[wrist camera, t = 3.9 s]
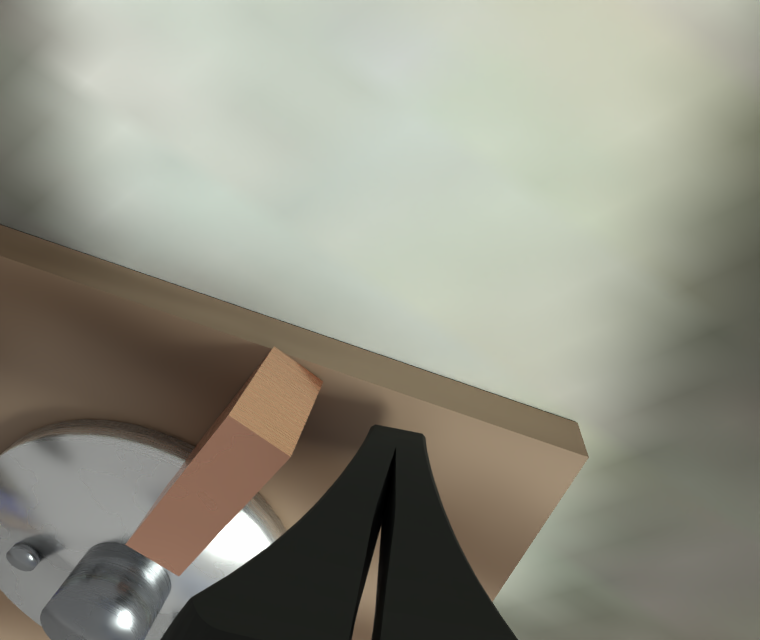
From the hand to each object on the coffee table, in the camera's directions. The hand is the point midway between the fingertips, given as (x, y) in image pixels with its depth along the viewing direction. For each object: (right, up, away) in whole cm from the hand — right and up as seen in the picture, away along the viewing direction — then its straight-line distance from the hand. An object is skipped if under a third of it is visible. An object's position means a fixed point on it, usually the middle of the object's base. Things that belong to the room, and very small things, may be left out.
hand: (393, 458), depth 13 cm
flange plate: (-7, -3, +4) cm, 9 cm away
